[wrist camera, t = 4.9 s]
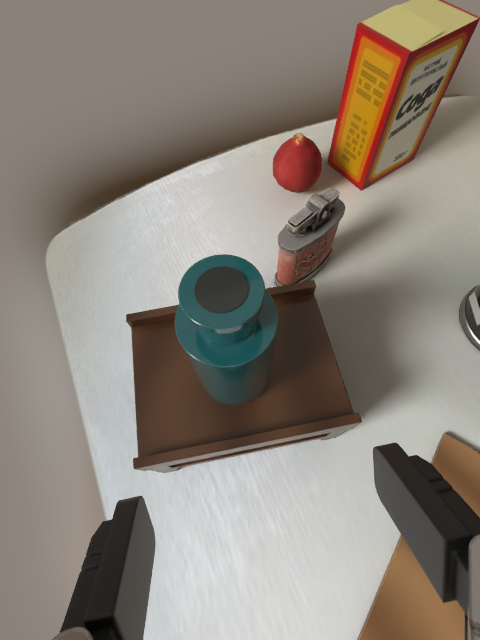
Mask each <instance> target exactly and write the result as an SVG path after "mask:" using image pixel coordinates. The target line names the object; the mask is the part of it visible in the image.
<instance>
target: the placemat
mask: <svg viewBox="0 0 480 640" xmlns="http://www.w3.org/2000/svg"><path fill="white" fill-rule="evenodd" d="M431 464H432V465H433V466H434V467H435V468H436V469H437V471H438V472H439V473H440V474H441V475H442V476H443V478H444V480H446V481H447V482H448V483H449V484H450V485H451V486H452V487H453V490H455V491H456V492H457V493H458V494H459V495H460V496H461V497H462V498H463V500H464V501H465V502H466V503H467V504H468V505H469V506H470V507H471V509H472V510H473V511H474V512H475V513H476V514H477V515H478V516H479V517H480V453H478V452H477V451H475V450H473V449H472V448H470V447H468V446H466V445H465V444H463V443H461V442H460V441H458V440H456V439H454V438H453V437H451V436H449V435H448V434H446V433H445V434H443V435H442V438H441V440H440V443H439V445H438V447H437V450H436V452H435V455H434V457H433V459H432V462H431ZM358 640H464V611H463V609H462V608H461V606H460V605H459V603H458V602H457V600H455V601H451V602H447V603H443V602H442V600H441V599H440V597H439V595H438V594H437V592H436V590H435V589H434V587H433V585H432V584H431V582H430V581H429V579H428V577H427V576H426V574H425V572H424V571H423V569H422V567H421V566H420V564H419V562H418V561H417V559H416V558H415V556H414V554H413V553H412V551H411V549H410V548H409V546H408V544H407V543H406V541H405V540H404V538H403V536H402V535H401V536H400V539H399V541H398V544H397V546H396V548H395V551H394V553H393V556H392V558H391V560H390V563H389V565H388V568H387V570H386V572H385V575H384V577H383V580H382V582H381V584H380V587H379V589H378V592H377V594H376V596H375V599H374V601H373V604H372V606H371V608H370V611H369V613H368V616H367V618H366V620H365V623H364V625H363V628H362V630H361V632H360V635H359V637H358Z"/></svg>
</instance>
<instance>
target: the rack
mask: <svg viewBox="0 0 480 640" xmlns="http://www.w3.org/2000/svg"><path fill="white" fill-rule="evenodd" d="M315 288H316V285H315V282H314V280H311V281H305V282H300V283H295V284H289V285H284V286H278V287H273V288H267V289H266V290H267V292H268V293H269V294H270V295H271V297H272V298H273V300H274V302H275V305H276V308H277V312H278V327H277V334H276V342H275V350H274V357H273V365H272V373H271V378H270V381H269V384H268V386H267V387H266V389H265V390H264V392H263V393H262V394H261V395H260V396H258V397H257V398H256V399H254V400H253V401H251V402H248V403H245V404H242V405H227V404H223V403H220V402H218V401H216V400H214V399H213V398H212V397H210V396H209V395H208V394H207V393H206V391H205V390H204V389H203V387H202V385H201V383H200V381H199V379H198V377H197V375H196V373H195V371H194V369H193V367H192V365H191V363H190V361H189V359H188V358H187V356H186V354H185V352H184V350H183V348H182V346H181V344H180V342H179V340H178V337H177V334H176V330H175V315H176V311H177V308H178V306H179V305H176V306H170V307H165V308H159V309H154V310H149V311H143V312H138V313H132V314H127V315H126V320H127V323H128V324H129V325H130V327H131V330H132V349H133V367H134V386H135V404H136V423H137V442H138V458H134V459H133V466H134V469H137V470H142V471H147V470H152V471H157V472H162V473H167V472H172V471H176V470H179V468H181V467H186V466H191V465H195V464H200V463H205V462H210V461H215V460H220V459H224V458H229V457H234V456H239V455H244V454H249V453H253V452H258V451H263V450H268V449H273V448H278V447H282V446H287V445H292V444H297V443H302V442H307V441H311V440H316V439H321V440H326V439H331V438H336V437H337V436H339V435H340V434H342V433H343V432H345V431H346V430H348V429H350V428H354V427H355V426H357V425H358V424H360V423H361V422H362V420H361V417H360V414H359V413H353V410H352V407H351V404H350V401H349V398H348V395H347V392H346V389H345V386H344V383H343V380H342V377H341V374H340V371H339V368H338V365H337V362H336V359H335V356H334V353H333V350H332V347H331V344H330V341H329V338H328V335H327V332H326V329H325V326H324V323H323V320H322V317H321V313H320V310H319V307H318V304H317V301H316V298H315V295H314V292H315Z"/></svg>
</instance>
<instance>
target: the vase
mask: <svg viewBox="0 0 480 640" xmlns="http://www.w3.org/2000/svg"><path fill="white" fill-rule="evenodd" d="M178 298H179V306H178V308H177V311H176V315H175V330H176V334H177V337H178V340H179V342H180V344H181V346H182V348H183V350H184V352H185V354H186V356H187V358H188V359H189V361H190V363H191V365H192V367H193V369H194V371H195V373H196V375H197V377H198V379H199V381H200V383H201V385H202V387H203V389H204V390H205V391H206V393H207V394H208V395H209V396H210V397H212V398H213V399H214V400H216V401H218V402H220V403H223V404H227V405H242V404H245V403H248V402H251V401H253V400H254V399H256V398H257V397H258V396H260V395H261V394H262V393H263V392H264V390H265V389H266V387H267V386H268V384H269V381H270V378H271V373H272V365H273V357H274V350H275V342H276V334H277V327H278V312H277V308H276V305H275V302H274V300H273V298H272V297H271V295H270V294H269V293H268V292H267V290H266V289H265V285H264V281H263V278H262V276H261V274H260V273H259V271H258V270H257V269H256V268H255V266H254V265H252V264H251V263H250V262H248V261H247V260H245V259H243V258H240V257H237V256H233V255H214V256H210V257H207V258H204V259H202V260H200V261H198V262H197V263H195V264H194V265H193V266H191V267H190V268H189V269H188V270H187V272H186V273H185V274H184V276H183V278H182V280H181V282H180V285H179V290H178Z"/></svg>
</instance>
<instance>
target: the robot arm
mask: <svg viewBox="0 0 480 640" xmlns="http://www.w3.org/2000/svg"><path fill="white" fill-rule="evenodd" d="M459 318H460V323H461V326H462V329H463V331H464V333H465V335H466V336H467V338H468V339H469V340H470V342H471V343H472V344H473V345H474V346H475V347H476V348H477V349H478V350H479V351H480V284H479V285H477V286H476V287H474V288H473V289H472V290H471V291H470V292H469V293H468V294H467V295H466V296H465V297H464V298H463V300H462V302H461V305H460V309H459ZM373 461H374V481H375V487H376V490H377V493H378V496H379V498H380V500H381V502H382V504H383V505H384V507H385V508H386V510H387V512H388V513H389V515H390V517H391V518H392V520H393V522H394V523H395V525H396V526H397V528H398V530H399V531H400V533H401V535H402V536H403V538H404V540H405V541H406V543H407V544H408V546H409V548H410V549H411V551H412V553H413V554H414V556H415V558H416V559H417V561H418V562H419V564H420V566H421V567H422V569H423V571H424V572H425V574H426V576H427V577H428V579H429V581H430V582H431V584H432V585H433V587H434V589H435V590H436V592H437V594H438V595H439V597H440V599H441V600H442V602H443V603H447V602H451V601H455V600H457V602H458V603H459V605H460V606H461V608H462V609H463V611H464V640H480V517H479V516H478V515H477V514H476V513H475V512H474V511H473V510H472V509H471V507H470V506H469V505H468V504H467V503H466V502H465V501H464V500H463V498H462V497H461V496H460V495H459V494H458V493H457V492H456V491H455V490H453V487H452V486H451V485H450V484H449V483H448V482H447V481H446V480H444V478H443V476H442V475H441V474H440V473H439V472H438V471H437V469H436V468H435V467H434V466H433V465H432V464H430V463H429V462H427V461H426V460H424V459H422V458H421V457H419V456H417V455H414V456H410V457H409V456H408V455H407V454H406V453H405V452H404V450H403V449H402V448H401V447H400V446H399V445H398V444H397V443H391V444H386V445H382V446H377V447H374V449H373ZM154 554H155V533H154V529H153V525H152V522H151V519H150V516H149V513H148V510H147V507H146V504H145V501H144V498H143V497H142V496H138V497H133V498H129V499H124V500H119V501H118V503H117V505H116V508H115V512H114V515H113V519H112V520H108V521H103V522H102V524H101V525H100V527H99V528H98V530H97V531H96V532H95V534H94V535H93V536H92V538H91V542H90V544H89V547H88V550H87V553H86V558H85V560H84V562H83V565H82V571H81V572H80V574H79V577H78V580H77V583H76V586H75V589H74V592H73V595H72V598H71V601H70V604H69V607H68V610H67V613H66V616H65V620H64V622H63V625H62V628H61V630H60V633H59V634H58V635H57V636H56V637H54V638H53V639H52V640H143V635H144V628H145V620H146V613H147V606H148V598H149V591H150V584H151V576H152V569H153V562H154Z"/></svg>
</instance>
